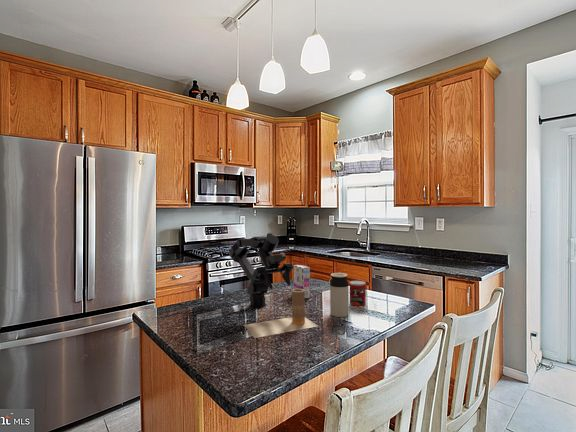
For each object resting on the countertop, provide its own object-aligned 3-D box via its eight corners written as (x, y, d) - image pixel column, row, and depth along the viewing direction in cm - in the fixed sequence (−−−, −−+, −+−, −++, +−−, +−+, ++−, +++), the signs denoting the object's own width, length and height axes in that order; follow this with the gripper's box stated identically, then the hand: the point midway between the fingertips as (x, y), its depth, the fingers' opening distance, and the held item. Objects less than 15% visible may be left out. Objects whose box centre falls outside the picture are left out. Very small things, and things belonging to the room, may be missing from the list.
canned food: (347, 305, 153) (347, 283, 153) (352, 301, 160) (352, 280, 160) (363, 308, 149) (363, 284, 149) (367, 303, 156) (367, 281, 156)
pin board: (254, 342, 112) (254, 328, 112) (243, 328, 125) (243, 316, 125) (318, 329, 123) (318, 317, 123) (302, 318, 135) (302, 307, 135)
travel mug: (348, 318, 135) (348, 276, 135) (329, 317, 137) (329, 276, 137) (348, 312, 143) (348, 272, 143) (331, 311, 145) (330, 272, 145)
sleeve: (292, 324, 124) (292, 292, 124) (292, 320, 129) (291, 288, 129) (305, 324, 124) (304, 291, 124) (304, 320, 129) (304, 288, 129)
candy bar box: (311, 298, 167) (310, 267, 166) (302, 299, 165) (302, 268, 164) (301, 293, 177) (301, 264, 177) (293, 294, 175) (293, 264, 174)
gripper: (255, 248, 135) (269, 278, 126) (290, 245, 146) (305, 273, 137) (247, 264, 142) (259, 294, 133) (281, 260, 153) (295, 287, 144)
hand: (281, 286), depth 137 cm, fingers open, 9 cm apart
